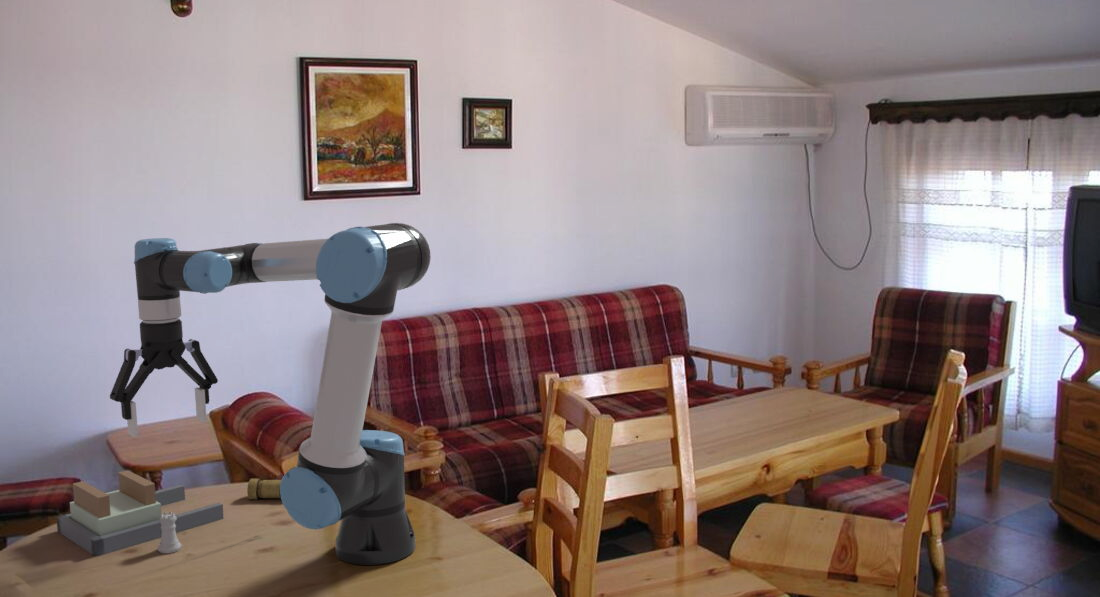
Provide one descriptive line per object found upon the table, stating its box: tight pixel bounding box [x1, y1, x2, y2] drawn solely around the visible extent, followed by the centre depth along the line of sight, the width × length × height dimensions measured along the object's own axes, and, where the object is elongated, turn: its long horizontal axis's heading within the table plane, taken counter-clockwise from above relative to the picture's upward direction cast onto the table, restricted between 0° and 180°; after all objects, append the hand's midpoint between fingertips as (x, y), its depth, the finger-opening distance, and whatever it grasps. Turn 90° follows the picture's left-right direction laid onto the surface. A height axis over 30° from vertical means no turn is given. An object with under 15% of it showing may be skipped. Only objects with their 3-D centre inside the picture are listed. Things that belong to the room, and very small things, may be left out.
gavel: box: [247, 472, 283, 500], centre depth 229 cm, size 21×5×10 cm
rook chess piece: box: [157, 511, 182, 554], centre depth 191 cm, size 4×4×8 cm
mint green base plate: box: [69, 469, 163, 536], centre depth 199 cm, size 14×12×10 cm
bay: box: [56, 484, 225, 558], centre depth 203 cm, size 18×26×4 cm
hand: (168, 428), depth 194 cm, fingers open, 13 cm apart
